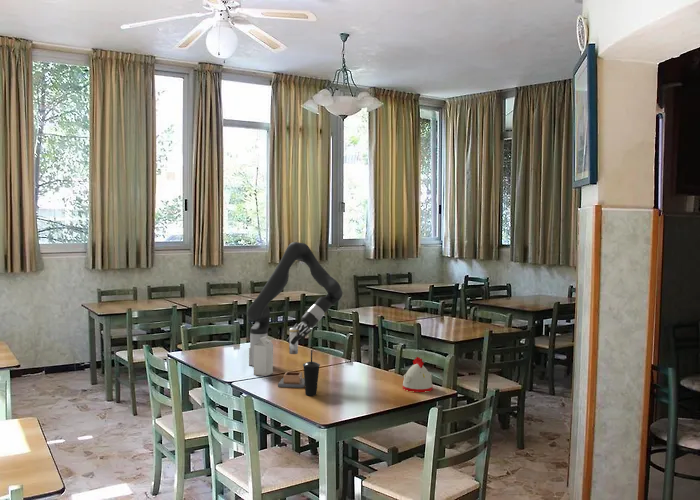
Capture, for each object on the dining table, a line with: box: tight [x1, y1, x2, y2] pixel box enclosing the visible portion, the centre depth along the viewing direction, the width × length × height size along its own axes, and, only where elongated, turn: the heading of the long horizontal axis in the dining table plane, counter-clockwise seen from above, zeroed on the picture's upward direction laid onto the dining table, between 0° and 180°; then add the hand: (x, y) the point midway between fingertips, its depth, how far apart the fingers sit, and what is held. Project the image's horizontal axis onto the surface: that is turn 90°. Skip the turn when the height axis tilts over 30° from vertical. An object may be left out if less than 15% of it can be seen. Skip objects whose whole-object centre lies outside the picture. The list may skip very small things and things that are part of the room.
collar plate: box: [277, 371, 305, 389], centre depth 298 cm, size 12×12×5 cm
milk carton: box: [253, 335, 274, 377], centre depth 317 cm, size 7×7×19 cm
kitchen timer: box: [402, 356, 433, 393], centre depth 294 cm, size 14×14×15 cm
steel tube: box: [288, 327, 299, 355], centre depth 298 cm, size 4×4×12 cm
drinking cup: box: [302, 349, 321, 397], centre depth 280 cm, size 8×8×20 cm
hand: (289, 342), depth 297 cm, fingers closed on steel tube, 4 cm apart
